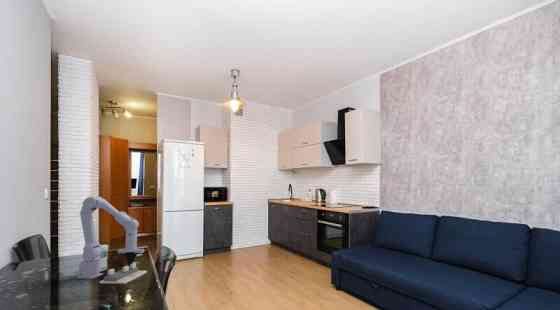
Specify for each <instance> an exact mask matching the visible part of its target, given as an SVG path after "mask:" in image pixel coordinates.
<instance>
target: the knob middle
mask: <svg viewBox="0 0 560 310" xmlns="http://www.w3.org/2000/svg"><path fill="white" fill-rule="evenodd" d="M122 269H123V272H126V271H129V266H128V265H125V266H122Z"/></svg>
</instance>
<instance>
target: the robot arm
mask: <svg viewBox="0 0 560 310" xmlns="http://www.w3.org/2000/svg"><path fill="white" fill-rule="evenodd" d="M97 209H103V210H104V211H106V212H107V213H109V215H112V216H114V220H115V221H116V222H117V223H119V224H120V225H121V226H122V227H124V230H125V231H126V232H125V247H124V248H119V249H118V250H117V254H124V255H123V256H124V257H125V259H126V263H127V266H129V267H130V264H132V263H134V261H135V259H136V256H137V255H138V254H143V253H144V252H145V249H144V248H137V247H138V246H137V244H138V228H139V226H140V223H139V220H137V219H136V218H135V219H134V217H131V216H130V215H128V214H127V212H126V211H119V210H118V209H116V207H114V206H113V205H112V204H111V203H109V201H107V199H105V198H103V197H102V196H88V197H86V198H85V199H84V200H83V201H82V206H81V209H80V211H79V216H80V221H81V227H82V232H83V238H84V246H83V248H82V249H83V251H82V254H81V255H82V259H83V260H82V261H81V262H80V263H79V265H78V276H77V277H76V278H77V279H82V280H83V279H90V280H91V279H95V278H97V277H100V276H102V275H104V273H103V272H102V273H100V272H99V270H100V256H101V255H102V253H103V250H102V248H101V247H100V245H101V244H100V242H99V241H98V240H97V234H96V230H95V223H94V218H93V213H94V212H95V211H96V210H97Z"/></svg>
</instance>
